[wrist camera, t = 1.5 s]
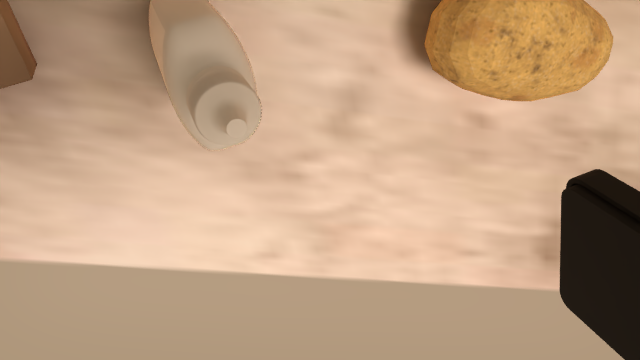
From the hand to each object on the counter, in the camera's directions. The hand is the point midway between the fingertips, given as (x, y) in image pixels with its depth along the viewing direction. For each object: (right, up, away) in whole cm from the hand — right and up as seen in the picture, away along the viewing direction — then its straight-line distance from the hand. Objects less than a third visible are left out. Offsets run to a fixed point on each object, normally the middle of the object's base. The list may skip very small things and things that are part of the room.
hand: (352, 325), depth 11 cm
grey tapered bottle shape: (-7, +10, +19) cm, 22 cm away
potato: (+9, +12, +24) cm, 28 cm away
